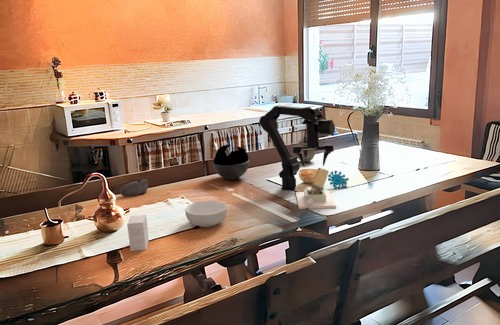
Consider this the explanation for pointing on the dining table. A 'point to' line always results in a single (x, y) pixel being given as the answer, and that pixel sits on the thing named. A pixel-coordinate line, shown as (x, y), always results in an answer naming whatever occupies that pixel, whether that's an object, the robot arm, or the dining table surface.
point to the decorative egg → (306, 152)
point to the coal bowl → (231, 162)
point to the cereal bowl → (206, 213)
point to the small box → (138, 232)
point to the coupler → (319, 181)
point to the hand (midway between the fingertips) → (313, 166)
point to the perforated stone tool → (134, 188)
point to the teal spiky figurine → (337, 179)
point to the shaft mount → (314, 199)
